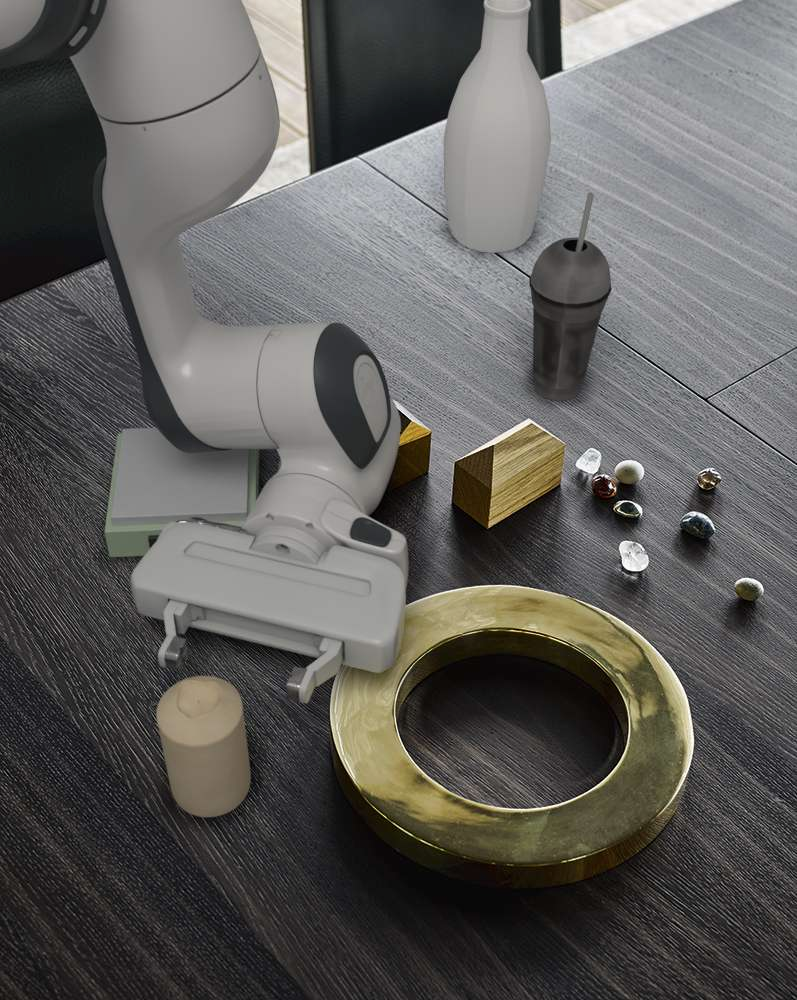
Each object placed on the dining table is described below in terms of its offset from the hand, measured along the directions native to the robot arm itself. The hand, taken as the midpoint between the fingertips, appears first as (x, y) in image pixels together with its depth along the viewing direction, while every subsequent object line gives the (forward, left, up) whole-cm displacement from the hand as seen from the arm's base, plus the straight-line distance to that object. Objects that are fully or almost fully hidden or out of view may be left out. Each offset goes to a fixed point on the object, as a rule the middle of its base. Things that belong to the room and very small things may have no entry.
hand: (231, 679), depth 86 cm
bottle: (+26, +64, -6) cm, 70 cm away
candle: (-2, -5, -6) cm, 8 cm away
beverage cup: (+29, +37, -6) cm, 48 cm away
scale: (-5, +23, -5) cm, 24 cm away
